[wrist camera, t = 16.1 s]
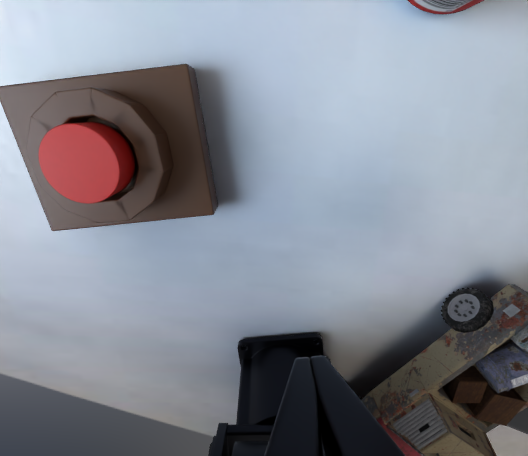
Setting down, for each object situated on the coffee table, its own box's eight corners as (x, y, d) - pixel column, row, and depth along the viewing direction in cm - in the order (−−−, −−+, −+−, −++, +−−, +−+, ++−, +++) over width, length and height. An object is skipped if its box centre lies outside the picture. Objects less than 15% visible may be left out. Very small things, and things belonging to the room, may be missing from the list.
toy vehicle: (313, 405, 26) (333, 517, 19) (487, 262, 21) (605, 342, 14) (369, 438, 27) (406, 554, 20) (542, 314, 22) (675, 409, 15)
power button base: (68, 222, 19) (29, 243, 16) (19, 89, 17) (-41, 83, 13) (218, 206, 19) (209, 226, 16) (194, 68, 16) (177, 56, 13)
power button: (76, 197, 16) (55, 207, 14) (52, 126, 14) (25, 128, 13) (143, 190, 16) (128, 199, 14) (124, 118, 14) (106, 118, 13)
